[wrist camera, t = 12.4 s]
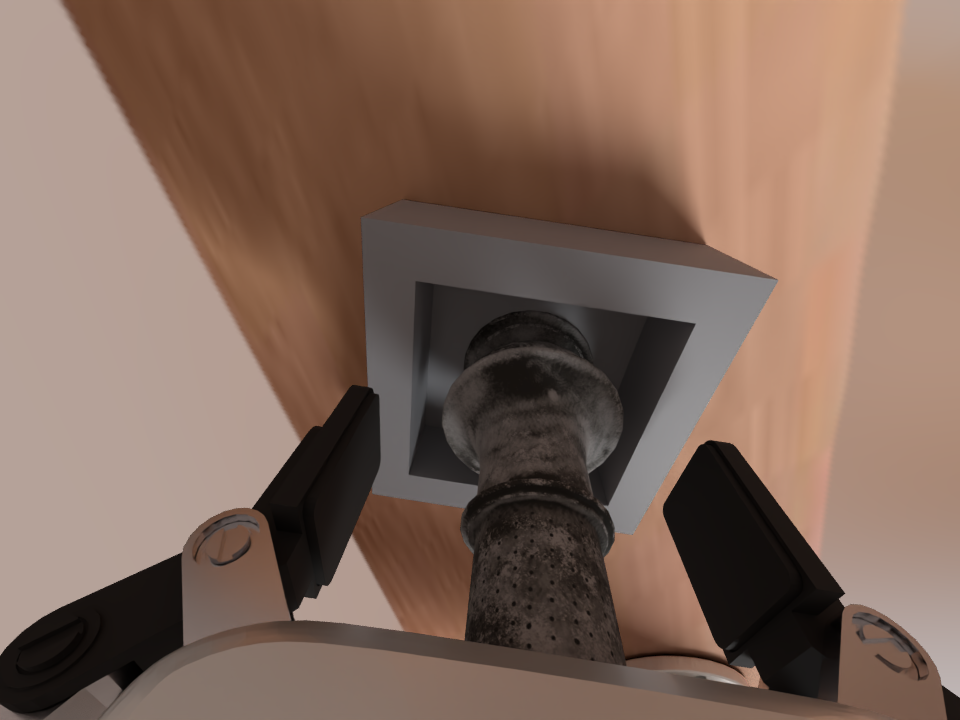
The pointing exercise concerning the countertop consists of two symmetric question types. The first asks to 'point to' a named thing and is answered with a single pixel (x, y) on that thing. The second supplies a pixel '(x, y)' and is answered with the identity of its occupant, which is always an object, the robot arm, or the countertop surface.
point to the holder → (562, 292)
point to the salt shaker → (536, 487)
